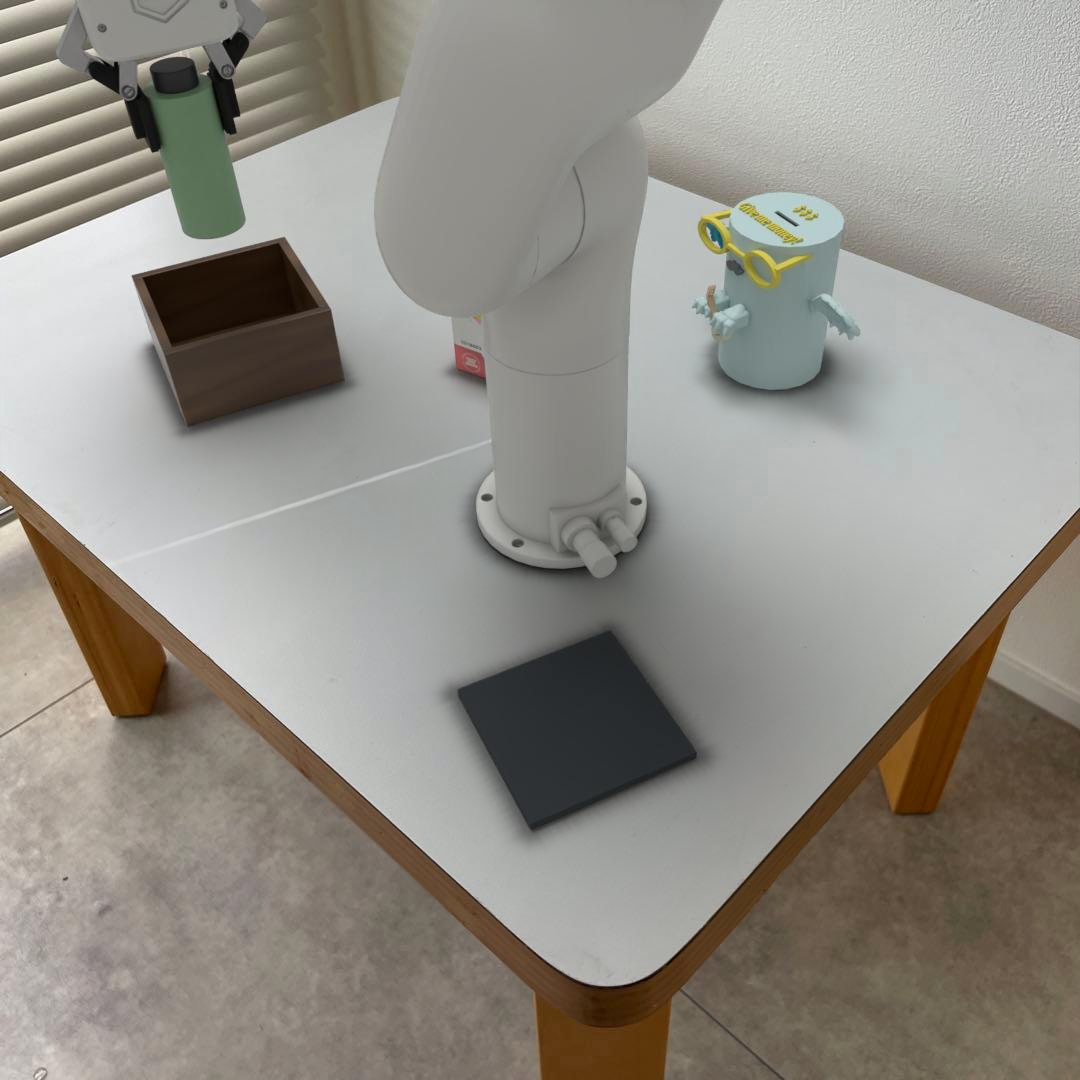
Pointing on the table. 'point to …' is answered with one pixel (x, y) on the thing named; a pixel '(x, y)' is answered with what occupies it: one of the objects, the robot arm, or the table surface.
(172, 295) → the open box
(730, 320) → the character sculpture
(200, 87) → the bottle
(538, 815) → the mat
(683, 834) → the table surface
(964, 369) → the table surface
